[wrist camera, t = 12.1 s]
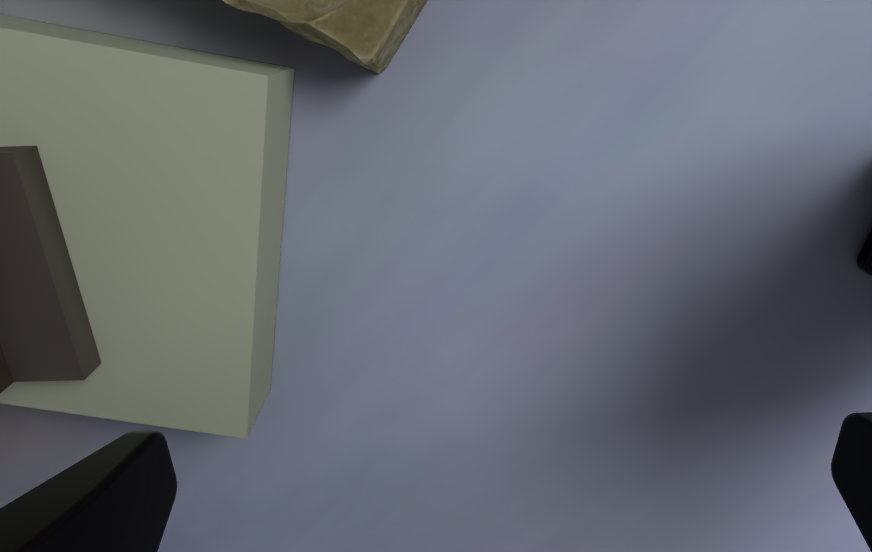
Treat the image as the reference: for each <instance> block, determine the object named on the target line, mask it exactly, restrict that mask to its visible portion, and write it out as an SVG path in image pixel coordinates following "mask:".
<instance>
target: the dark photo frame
mask: <svg viewBox="0 0 872 552" xmlns="http://www.w3.org/2000/svg"><path fill="white" fill-rule="evenodd" d="M100 364H101V359H100V356H99V353H98V349H97V346H96V343H95V339H94V336H93V332H92V329H91V326H90V322H89V319H88V316H87V312H86V309H85V306H84V302H83V299H82V295H81V292H80V289H79V285H78V282H77V279H76V275H75V272H74V269H73V265H72V262H71V258H70V255H69V252H68V248H67V245H66V242H65V238H64V235H63V232H62V228H61V225H60V221H59V218H58V215H57V211H56V208H55V205H54V201H53V198H52V195H51V191H50V188H49V184H48V181H47V178H46V174H45V171H44V168H43V164H42V161H41V158H40V154H39V151H38V147H37V146H7V147H0V393H1V392H3V391H4V390H5V389H6V388H7V387H9V386H10V385H11V384H12V383H13V382H33V381H75V380H85V379H86V378H87V377H88V376H89V375H90V374H91V373H92V372H93V371H94V370H95V369H96V368H97V367H98V366H99V365H100Z"/></svg>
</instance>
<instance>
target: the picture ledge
mask: <svg viewBox="0 0 872 552" xmlns="http://www.w3.org/2000/svg"><path fill="white" fill-rule="evenodd" d="M293 81H294V68H290V67H284V66H279V65H273V64H268V63H262V62H257V61H251V60H246V59H240V58H235V57H229V56H224V55H218V54H213V53H207V52H202V51H196V50H191V49H185V48H180V47H174V46H169V45H163V44H158V43H152V42H147V41H141V40H136V39H130V38H125V37H120V36H114V35H109V34H103V33H98V32H92V31H87V30H81V29H76V28H70V27H65V26H59V25H54V24H48V23H43V22H37V21H32V20H26V19H21V18H15V17H10V16H4V15H0V147H7V146H37V147H38V151H39V154H40V158H41V161H42V164H43V168H44V171H45V174H46V178H47V181H48V184H49V188H50V191H51V195H52V198H53V201H54V205H55V208H56V211H57V215H58V218H59V221H60V225H61V228H62V232H63V235H64V238H65V242H66V245H67V248H68V252H69V255H70V258H71V262H72V265H73V269H74V272H75V275H76V279H77V282H78V285H79V289H80V292H81V295H82V299H83V302H84V306H85V309H86V312H87V316H88V319H89V322H90V326H91V329H92V332H93V336H94V339H95V343H96V346H97V349H98V353H99V356H100V359H101V364H100V365H99V366H98V367H97V368H96V369H95V370H94V371H93V372H92V373H91V374H90V375H89V376H88V377H87V378H86V379H85V380H75V381H33V382H13V383H12V384H11V385H10V386H9V387H7V388H6V389H5V390H4V391H3V392H1V393H0V403H2V404H9V405H16V406H23V407H29V408H36V409H43V410H50V411H57V412H64V413H71V414H78V415H85V416H91V417H98V418H105V419H112V420H119V421H126V422H133V423H140V424H147V425H154V426H160V427H167V428H174V429H181V430H188V431H195V432H202V433H209V434H216V435H222V436H229V437H236V438H243V439H247V437H248V435H249V433H250V431H251V429H252V427H253V425H254V423H255V421H256V418H257V416H258V414H259V412H260V410H261V408H262V406H263V404H264V402H265V399H266V397H267V395H268V393H269V391H270V387H271V373H272V360H273V347H274V333H275V320H276V307H277V294H278V280H279V267H280V254H281V240H282V227H283V214H284V200H285V187H286V174H287V161H288V147H289V134H290V121H291V107H292V94H293Z"/></svg>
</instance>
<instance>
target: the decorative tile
mask: <svg viewBox="0 0 872 552" xmlns="http://www.w3.org/2000/svg"><path fill="white" fill-rule="evenodd" d="M222 1H224V2H225V3H227V4H229V5H231V6H233V7H235V8H237V9H239V10H243V11H248V12H253V13H258V14H261V15H264V16H266V17H269V18H272V19H274V20H277V21H278V22H279V23H281V24H282V25H283V26H284V27H286V28H287V29H289V30H291V31H294V32H296V33H297V34H299V35H300V36H301V37H303V38H304V39H307V40H310V41H313V42H316V43H319V44H322V45H325V46H327V47H329V48H331V49H334V50H336V51H338V52H339V53H340V54H341V55H342V56H343V57H345V58H346V59H348V60H350V61H352V62H355V63H357V64H359V65H361V66H363V67H365V68H366V69H370V70H371V71H373V72H375V73H378V74H380V73H382V72H383V71H384V70H385V69H386V68H387V66H388V65H389V63H390V62H391V60H392V58H393V57H394V55H395V53H396V52H397V50H398V48H399V47H400V45H401V43H402V42H403V40H404V39H405V37H406V35H407V34H408V32H409V30H410V28H411V27H412V25H413V23H414V22H415V20H416V18H417V17H418V15H419V14H420V12H421V10H422V9H423V7H424V5H425V4H426V2H427V1H428V0H222Z"/></svg>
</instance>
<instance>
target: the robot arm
mask: <svg viewBox="0 0 872 552" xmlns="http://www.w3.org/2000/svg"><path fill="white" fill-rule="evenodd" d="M857 265H858V267H859V268H860V269H861V270H862V271H864V272H866V273H867V274H869V275H872V229H871V231H870V233H869V235H868V237H867V239H866V241H865V243H864V245H863V247H862V249H861V251H860V253H859V255H858V259H857ZM831 471H832V476H833V480H834V482H835V484H836V486H837V488H838V490H839V492H840V494H841V496H842V498H843V500H844V501H845V503H846V505H847V507H848V509H849V511H850V513H851V515H852V516H853V518H854V520H855V522H856V524H857V526H858V528H859V530H860V531H861V533H862V535H863V537H864V539H865V541H866V543H867V545H868V546H869V548H870V550H871V552H872V412H867V413H852V414H850V415H848V416H847V417H846V418H845V419H844V421H843V423H842V426H841V430H840V433H839V437H838V440H837V444H836V447H835V451H834V455H833V458H832V462H831ZM176 491H177V480H176V475H175V471H174V467H173V464H172V460H171V456H170V453H169V449H168V445H167V441H166V439H165V437H164V435H163V434H162V433H160V432H158V431H136V432H129V433H127V434H125V435H123V436H121V437H120V438H118V439H116V440H115V441H113V442H111V443H110V444H108V445H106V446H104V447H103V448H101V449H99V450H98V451H96V452H94V453H93V454H91V455H89V456H88V457H86V458H84V459H83V460H81V461H79V462H78V463H76V464H74V465H73V466H71V467H69V468H68V469H66V470H64V471H62V472H61V473H59V474H57V475H56V476H54V477H52V478H51V479H49V480H47V481H46V482H44V483H42V484H41V485H39V486H37V487H36V488H34V489H32V490H31V491H29V492H27V493H26V494H24V495H22V496H21V497H19V498H17V499H15V500H14V501H12V502H10V503H9V504H7V505H5V506H4V507H2V508H0V552H157V551H158V548H159V545H160V542H161V539H162V536H163V533H164V530H165V527H166V524H167V521H168V518H169V515H170V512H171V509H172V506H173V503H174V500H175V496H176Z"/></svg>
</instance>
